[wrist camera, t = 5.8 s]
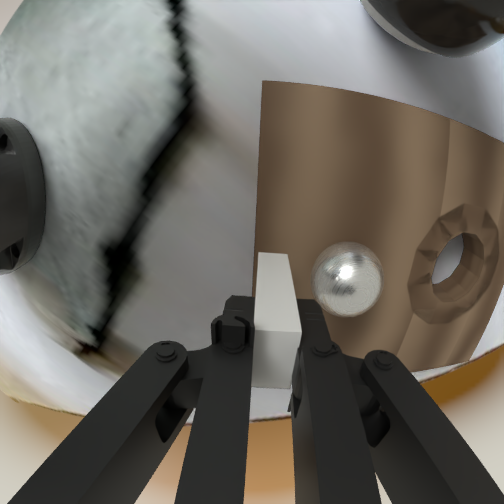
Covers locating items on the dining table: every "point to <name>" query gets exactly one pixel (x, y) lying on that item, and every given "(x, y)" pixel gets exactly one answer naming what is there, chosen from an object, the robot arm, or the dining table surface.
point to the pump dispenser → (441, 24)
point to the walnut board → (384, 214)
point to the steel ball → (347, 279)
